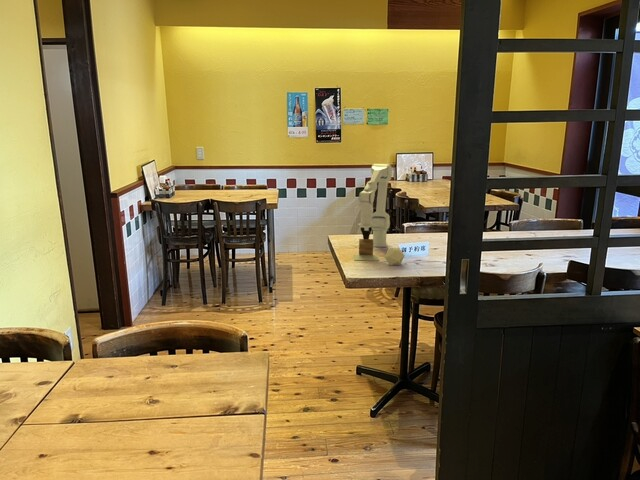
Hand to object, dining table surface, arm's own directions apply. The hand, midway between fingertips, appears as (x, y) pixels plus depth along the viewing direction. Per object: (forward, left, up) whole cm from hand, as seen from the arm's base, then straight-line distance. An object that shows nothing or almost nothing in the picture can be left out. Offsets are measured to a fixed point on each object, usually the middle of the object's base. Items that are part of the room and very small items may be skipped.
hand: (365, 241), depth 236 cm
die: (+16, +13, -7) cm, 22 cm away
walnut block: (-1, 0, -6) cm, 6 cm away
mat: (+6, 0, -7) cm, 9 cm away
